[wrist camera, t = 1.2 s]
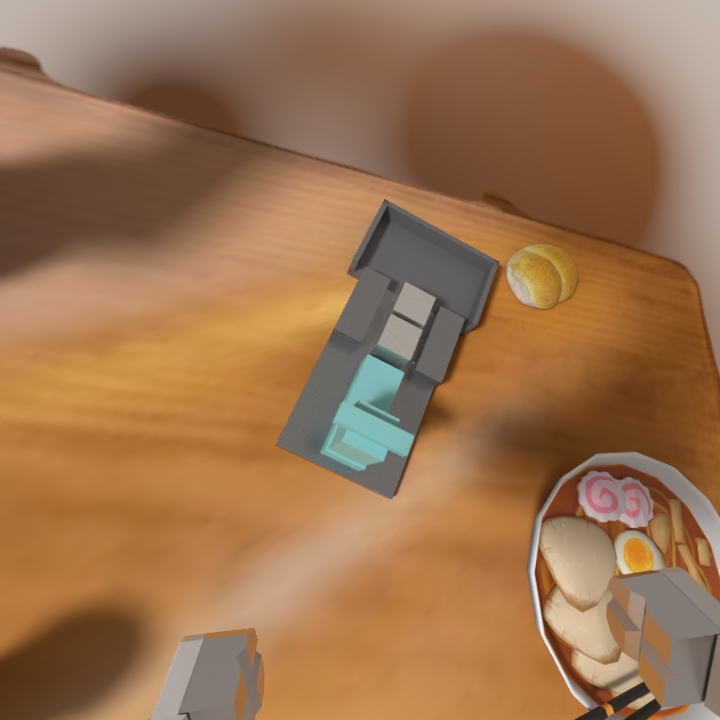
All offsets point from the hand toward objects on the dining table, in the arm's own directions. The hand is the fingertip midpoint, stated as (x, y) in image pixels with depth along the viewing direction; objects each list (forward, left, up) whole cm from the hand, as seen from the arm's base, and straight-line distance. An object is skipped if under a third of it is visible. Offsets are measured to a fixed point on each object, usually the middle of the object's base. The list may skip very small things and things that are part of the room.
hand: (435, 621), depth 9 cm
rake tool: (+1, +11, -29) cm, 31 cm away
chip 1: (+1, +23, -29) cm, 37 cm away
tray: (+1, +30, -30) cm, 42 cm away
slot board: (+1, +15, -30) cm, 33 cm away
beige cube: (+1, +19, -29) cm, 34 cm away
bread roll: (+15, +37, -30) cm, 50 cm away
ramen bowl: (+29, +7, -30) cm, 42 cm away
